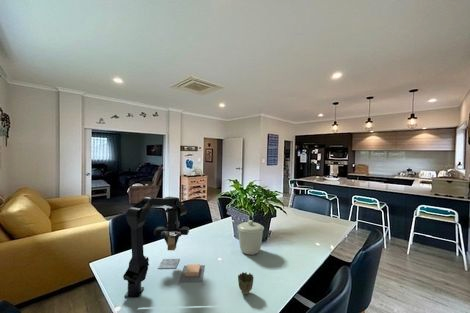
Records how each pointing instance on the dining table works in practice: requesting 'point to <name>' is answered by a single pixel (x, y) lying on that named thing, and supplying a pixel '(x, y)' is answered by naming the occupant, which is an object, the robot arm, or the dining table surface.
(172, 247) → the walnut block
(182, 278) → the rubber mat
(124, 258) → the dining table surface
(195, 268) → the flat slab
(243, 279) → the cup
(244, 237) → the canister
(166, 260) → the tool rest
